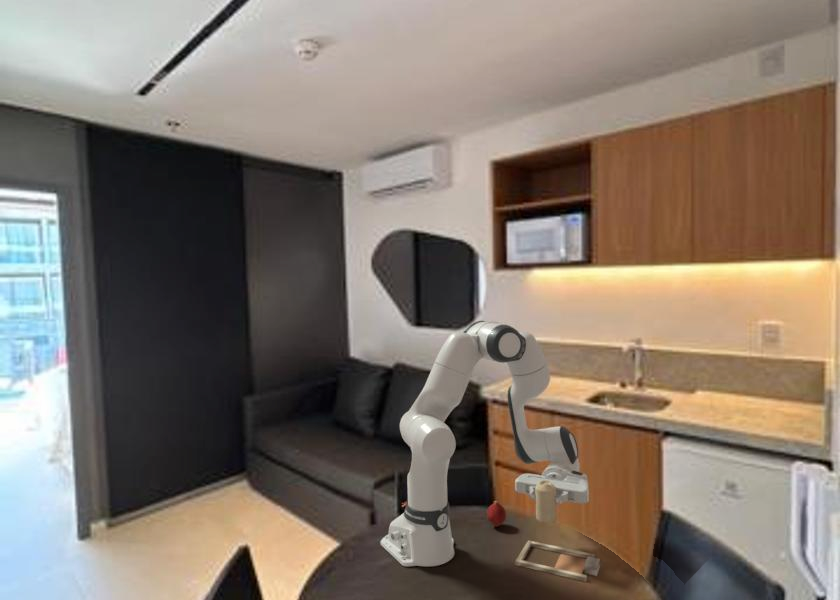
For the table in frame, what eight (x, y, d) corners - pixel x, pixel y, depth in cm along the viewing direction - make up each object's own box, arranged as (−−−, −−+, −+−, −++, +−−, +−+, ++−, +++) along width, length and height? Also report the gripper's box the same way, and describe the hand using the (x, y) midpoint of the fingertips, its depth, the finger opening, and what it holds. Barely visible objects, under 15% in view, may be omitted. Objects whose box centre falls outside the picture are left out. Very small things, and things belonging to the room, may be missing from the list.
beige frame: (515, 564, 135) (515, 557, 135) (528, 543, 146) (528, 536, 146) (594, 583, 126) (594, 575, 126) (602, 559, 137) (601, 552, 136)
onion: (496, 520, 161) (495, 495, 161) (510, 526, 157) (509, 500, 157) (483, 526, 158) (482, 500, 157) (497, 532, 153) (496, 506, 153)
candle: (557, 524, 134) (556, 486, 134) (536, 522, 135) (535, 485, 135) (556, 514, 139) (555, 478, 139) (535, 513, 140) (534, 477, 140)
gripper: (522, 465, 153) (507, 481, 141) (592, 475, 144) (583, 493, 131) (522, 485, 153) (508, 503, 141) (593, 497, 144) (584, 517, 132)
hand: (545, 498), depth 136 cm, fingers closed on candle, 5 cm apart
